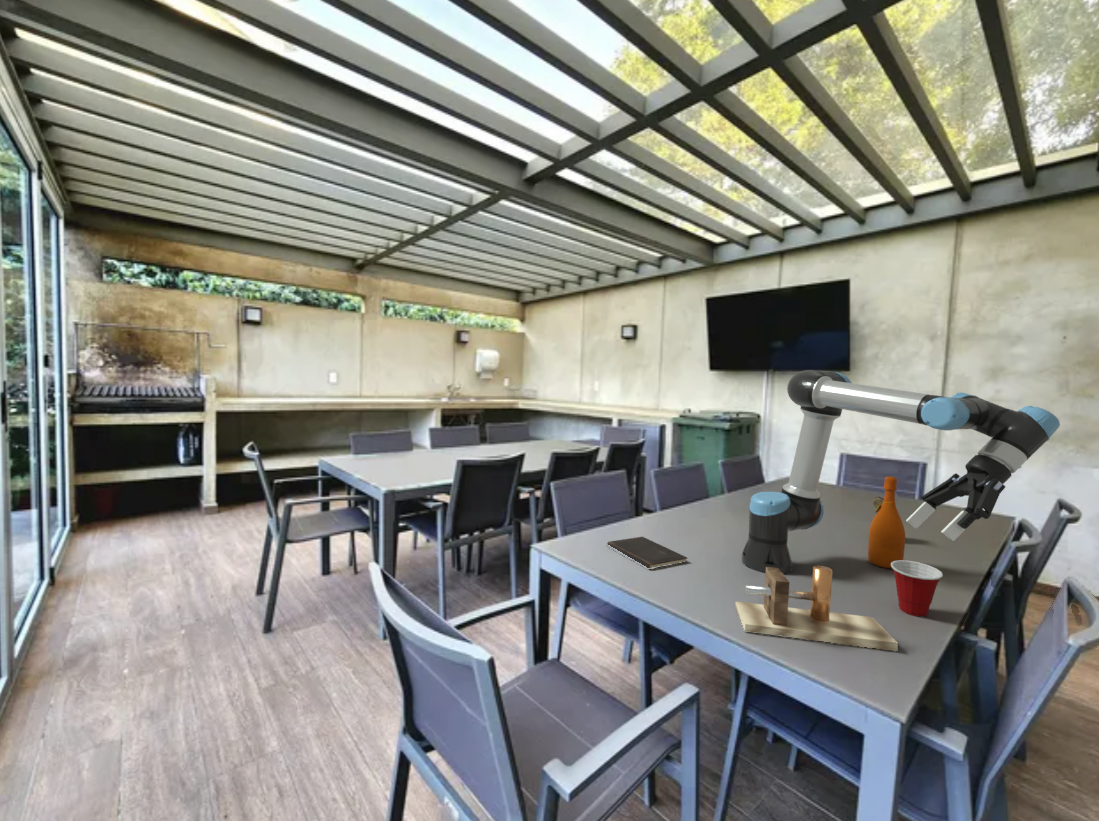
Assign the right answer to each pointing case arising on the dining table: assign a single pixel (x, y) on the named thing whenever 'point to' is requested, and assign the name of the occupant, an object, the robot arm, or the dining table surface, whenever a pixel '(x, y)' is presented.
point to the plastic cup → (915, 586)
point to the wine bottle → (887, 530)
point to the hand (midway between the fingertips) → (927, 530)
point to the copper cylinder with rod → (808, 593)
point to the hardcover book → (647, 552)
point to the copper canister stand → (809, 620)
